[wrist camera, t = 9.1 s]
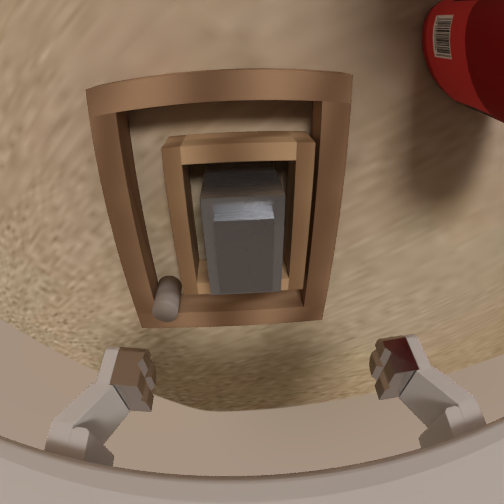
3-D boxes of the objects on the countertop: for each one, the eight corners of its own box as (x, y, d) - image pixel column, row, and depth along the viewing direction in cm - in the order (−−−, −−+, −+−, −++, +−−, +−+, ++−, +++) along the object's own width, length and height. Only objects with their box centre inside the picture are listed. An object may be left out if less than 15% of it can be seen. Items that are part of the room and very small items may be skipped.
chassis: (340, 72, 16) (359, 76, 14) (316, 302, 26) (324, 329, 24) (99, 85, 15) (77, 92, 13) (146, 309, 25) (140, 337, 23)
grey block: (272, 160, 19) (288, 202, 14) (271, 243, 23) (282, 300, 18) (206, 163, 19) (198, 206, 14) (213, 246, 22) (210, 304, 18)
